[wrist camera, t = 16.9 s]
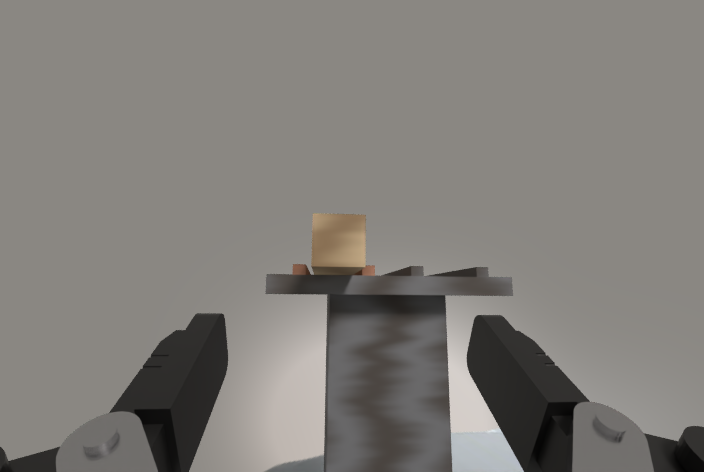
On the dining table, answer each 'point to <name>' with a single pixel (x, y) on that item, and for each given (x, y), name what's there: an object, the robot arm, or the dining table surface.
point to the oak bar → (338, 244)
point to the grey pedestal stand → (387, 363)
